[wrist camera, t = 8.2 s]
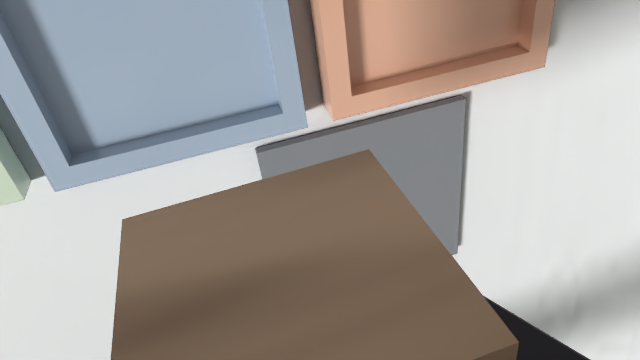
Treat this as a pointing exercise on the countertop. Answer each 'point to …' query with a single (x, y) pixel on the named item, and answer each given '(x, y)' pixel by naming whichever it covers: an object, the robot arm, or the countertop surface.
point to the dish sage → (11, 174)
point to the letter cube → (299, 276)
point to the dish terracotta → (422, 47)
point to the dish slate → (145, 80)
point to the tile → (395, 157)
